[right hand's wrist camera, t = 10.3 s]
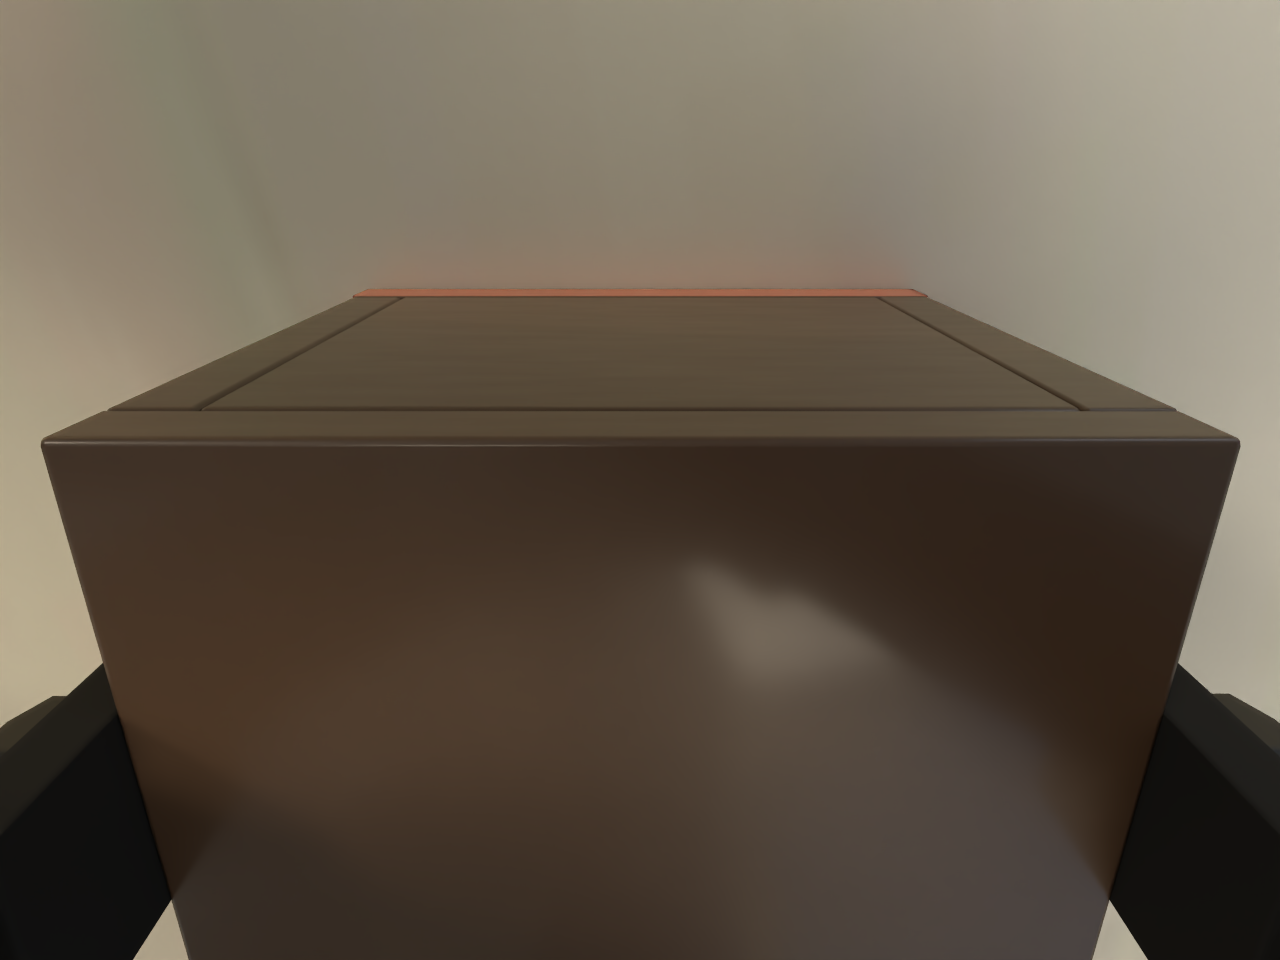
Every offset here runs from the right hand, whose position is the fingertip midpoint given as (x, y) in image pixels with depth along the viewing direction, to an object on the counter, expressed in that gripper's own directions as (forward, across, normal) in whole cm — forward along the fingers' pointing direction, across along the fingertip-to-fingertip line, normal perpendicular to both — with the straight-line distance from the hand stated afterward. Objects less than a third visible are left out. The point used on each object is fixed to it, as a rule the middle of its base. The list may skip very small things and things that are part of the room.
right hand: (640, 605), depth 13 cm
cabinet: (+5, 0, -5) cm, 7 cm away
